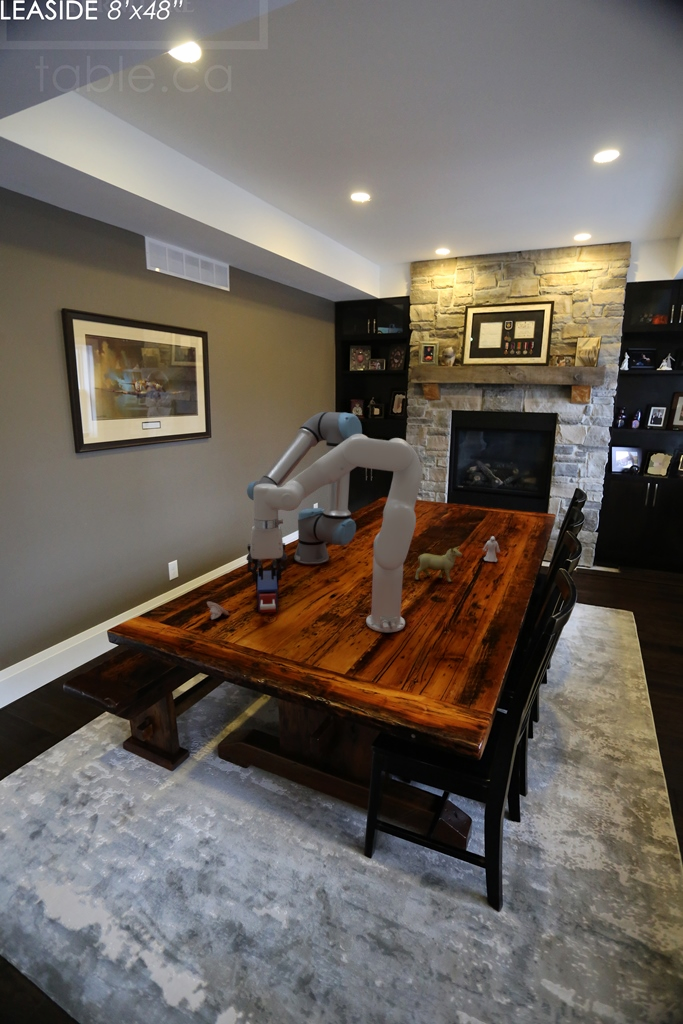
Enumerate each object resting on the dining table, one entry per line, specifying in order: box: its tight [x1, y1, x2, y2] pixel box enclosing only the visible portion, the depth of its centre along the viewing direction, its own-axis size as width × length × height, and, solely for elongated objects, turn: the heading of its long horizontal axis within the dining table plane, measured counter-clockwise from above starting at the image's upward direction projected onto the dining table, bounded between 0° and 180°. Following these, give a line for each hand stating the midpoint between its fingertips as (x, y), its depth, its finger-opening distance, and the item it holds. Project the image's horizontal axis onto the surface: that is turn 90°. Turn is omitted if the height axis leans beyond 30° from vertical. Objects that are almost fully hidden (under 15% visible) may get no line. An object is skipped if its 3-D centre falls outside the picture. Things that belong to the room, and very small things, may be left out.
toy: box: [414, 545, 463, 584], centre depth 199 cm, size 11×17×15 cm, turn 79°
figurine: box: [482, 535, 501, 563], centre depth 223 cm, size 8×8×12 cm
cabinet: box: [256, 570, 279, 613], centre depth 178 cm, size 18×7×8 cm, turn 9°
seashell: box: [206, 600, 230, 620], centre depth 164 cm, size 8×5×8 cm
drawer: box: [259, 592, 277, 613], centre depth 172 cm, size 22×6×6 cm, turn 9°
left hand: (267, 588), depth 183 cm, fingers closed on cabinet, 7 cm apart
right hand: (267, 577), depth 161 cm, fingers closed
